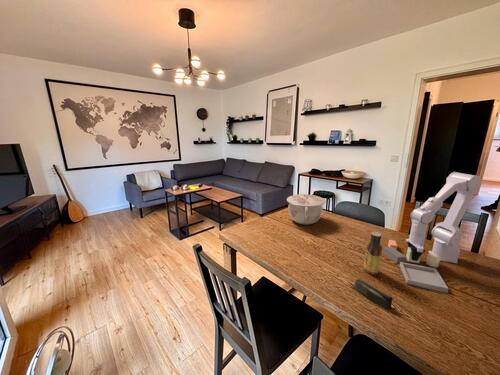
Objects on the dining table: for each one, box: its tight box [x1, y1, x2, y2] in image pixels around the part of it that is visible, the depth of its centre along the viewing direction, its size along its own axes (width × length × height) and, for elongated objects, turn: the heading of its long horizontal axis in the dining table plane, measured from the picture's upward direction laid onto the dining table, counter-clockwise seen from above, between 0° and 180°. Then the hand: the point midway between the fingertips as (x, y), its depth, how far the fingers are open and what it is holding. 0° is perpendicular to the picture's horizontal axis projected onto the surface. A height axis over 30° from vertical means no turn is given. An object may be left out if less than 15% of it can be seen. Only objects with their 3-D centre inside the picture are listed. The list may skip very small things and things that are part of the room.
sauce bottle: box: [363, 231, 383, 276], centre depth 96 cm, size 6×6×20 cm
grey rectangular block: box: [382, 246, 407, 264], centre depth 108 cm, size 5×9×4 cm, turn 6°
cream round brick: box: [425, 252, 441, 268], centre depth 101 cm, size 5×5×5 cm
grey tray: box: [399, 262, 449, 294], centre depth 92 cm, size 14×14×2 cm
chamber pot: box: [286, 193, 326, 225], centre depth 152 cm, size 28×28×21 cm
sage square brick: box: [405, 247, 422, 264], centre depth 104 cm, size 4×4×6 cm
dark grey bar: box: [350, 278, 394, 309], centre depth 83 cm, size 5×3×15 cm
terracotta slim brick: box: [387, 239, 398, 251], centre depth 116 cm, size 3×6×4 cm, turn 154°
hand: (413, 257), depth 105 cm, fingers closed on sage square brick, 4 cm apart
